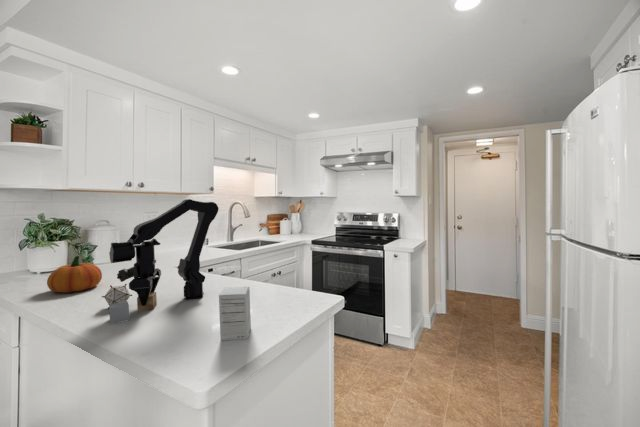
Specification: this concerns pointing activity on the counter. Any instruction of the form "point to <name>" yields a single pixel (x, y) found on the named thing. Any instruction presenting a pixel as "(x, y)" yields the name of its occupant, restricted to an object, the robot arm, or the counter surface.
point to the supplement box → (234, 313)
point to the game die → (117, 295)
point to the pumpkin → (74, 277)
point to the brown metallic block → (149, 305)
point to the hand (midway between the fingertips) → (147, 301)
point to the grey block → (119, 312)
